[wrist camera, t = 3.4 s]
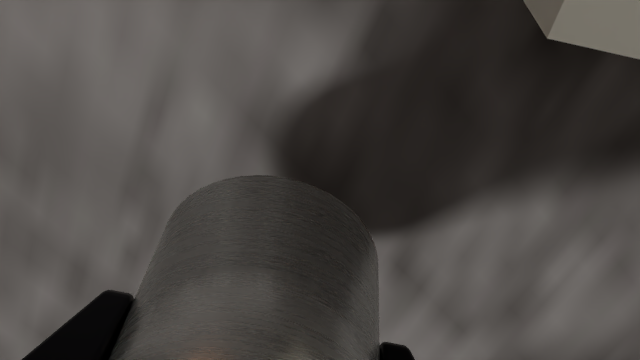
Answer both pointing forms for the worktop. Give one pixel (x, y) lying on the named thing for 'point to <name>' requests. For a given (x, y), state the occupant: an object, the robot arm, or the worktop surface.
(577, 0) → the white decorated slab
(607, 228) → the worktop surface
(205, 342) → the glass salt shaker
